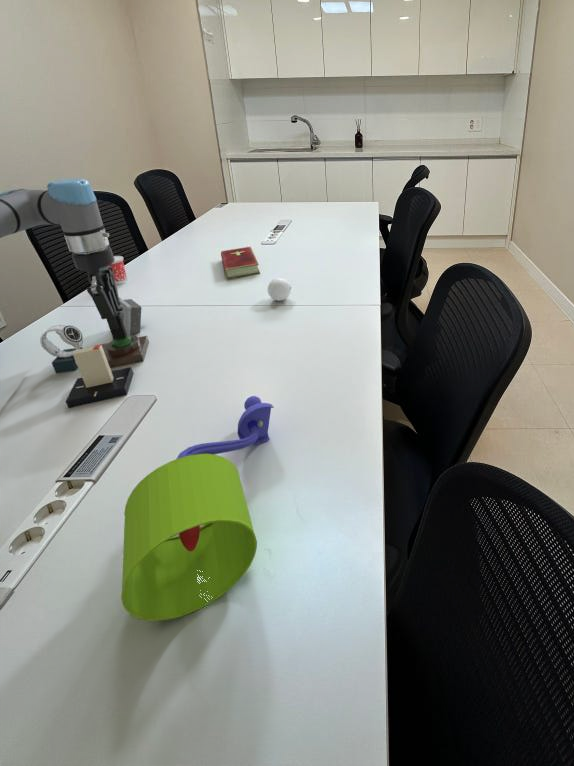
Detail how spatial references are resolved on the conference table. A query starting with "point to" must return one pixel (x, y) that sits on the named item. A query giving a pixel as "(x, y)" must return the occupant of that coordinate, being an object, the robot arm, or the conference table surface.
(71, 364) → the watch
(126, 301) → the electrical switch
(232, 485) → the wall lamp
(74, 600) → the conference table surface
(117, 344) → the button
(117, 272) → the beverage cup
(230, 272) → the hardcover book
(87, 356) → the cream rectangular block
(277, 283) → the white ovoid piece
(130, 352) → the switch block
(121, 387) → the dimmer panel
